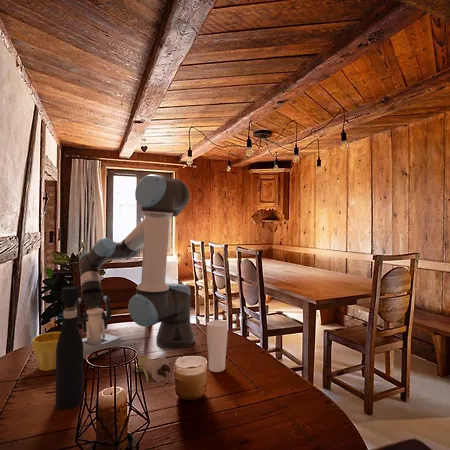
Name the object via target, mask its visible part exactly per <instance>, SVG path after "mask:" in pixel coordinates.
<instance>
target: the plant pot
mask: <svg viewBox="0 0 450 450" xmlns="http://www.w3.org/2000/svg"><path fill="white" fill-rule="evenodd" d="M60 333H61V331H51V332H47V333H42V334H39V335H36V336H35V337H33V338H32V345H31V346H32V351H33V352H34V353H35V358H36V361H37V365H38V369H39V370H40V371H43V372H44V371H45V372H49V371H52V370H56V347H57V342H58V338H59V336H60Z"/></svg>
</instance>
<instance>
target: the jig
mask: <svg viewBox="0 0 450 450" xmlns="http://www.w3.org/2000/svg"><path fill="white" fill-rule="evenodd" d="M82 341H83V360H86V358H87V356H88V355H90V354H91V353H93V352H95V351H98V350H101V349H105V348H109V347H117V346H120V347H121V337H120V336H117V335H112V334H109V333H105V339H102V334H101V343H100V344H97V345H94V346H92V345H88V341H87V337H84V338H83V337H82ZM107 352H109V351H102V352H99V353H98V356H100V355H103V354H106V353H107ZM95 357H96V356H94V355H93V356H92V358H95Z"/></svg>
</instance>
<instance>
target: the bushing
mask: <svg viewBox="0 0 450 450" xmlns="http://www.w3.org/2000/svg"><path fill="white" fill-rule="evenodd" d="M102 308H103V307H102ZM102 308H96V307H94V308H89V310H87V314H88V315H87V319H88V320H87V321H88V322H89V333H90V339H89V341H88V345H92V346H94V345H97V344H100V343H101V334H102V313H103V310H104V308H103V309H102Z"/></svg>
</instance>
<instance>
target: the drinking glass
mask: <svg viewBox="0 0 450 450" xmlns="http://www.w3.org/2000/svg"><path fill="white" fill-rule="evenodd" d="M206 346H207V347H206V348H207V356H208V358H207V360H208V369H209V371H210V372H213V373H221V372H224V370H225V369H226V356H227V347H228V322H227V321H225V320H221V319H220V320H218V319H215V320H209V321H207V323H206Z"/></svg>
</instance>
